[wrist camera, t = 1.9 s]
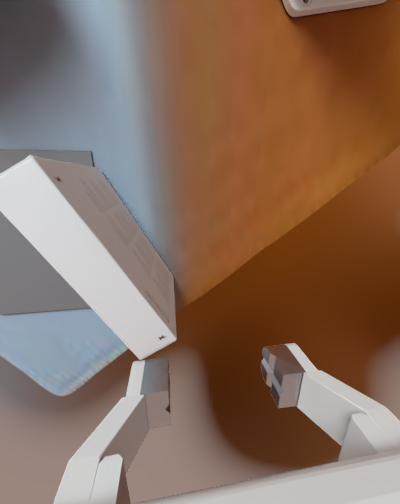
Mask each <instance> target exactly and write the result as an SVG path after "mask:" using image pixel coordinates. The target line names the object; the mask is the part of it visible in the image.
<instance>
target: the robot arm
mask: <svg viewBox="0 0 400 504" xmlns="http://www.w3.org/2000/svg"><path fill="white" fill-rule="evenodd" d="M282 1H283V4H284V6H285V9H286V11H287V13H288V14H289V15H290V16H292V17H299V16H305V15H312V14H318V13H325V12H331V11H338V10H344V9H350V8H357V7H363V6H370V5H376V4H381V3H384V2H386V1H387V0H305V2H306V3H304V2H303V0H282ZM262 354H263V356H264V359H263V360H262V361H261V371H262V375H263V378H264V380H265V383H266V384H267V385H268V386H270V387H271V395H272V397H273V398H274V401H275V403H276V405H277V407H278V408H283V407H291V406H297V407H298V408H299V409H300V410H301V411H302V412H303V413H305V414H306V415H307V416H308V417H309V418H310V419H311V420H313V421H314V422H315V423H316V424H317V425H318V426H319V427H320V428H321V429H323V430H324V431H325V432H326V433H327V434H328V435H330V436H331V437H332V438H333V439H334V440H335V441H336V442H337V443H339V444H340V445H341V446H342V448H341V451H340V455H339V458H338V462H334V463H329V464H324V465H319V466H314V467H309V468H304V469H299V470H294V471H289V472H284V473H279V474H275V475H270V476H265V477H260V478H255V479H250V480H245V481H240V482H235V483H231V484H226V485H221V486H216V487H212V488H206V489H201V490H197V491H192V492H187V493H182V494H177V495H172V496H167V497H163V498H158V499H153V500H148V501H143V502H138V503H133V504H400V421H399V420H398V419H397V418H396V417H395V416H394V415H393V414H392V413H391V412H390V411H389V410H388V409H387V408H386V407H385V406H383V405H381V404H379V403H378V402H376V401H374V400H372V399H371V398H369V397H367V396H365V395H364V394H362V393H360V392H358V391H356V390H355V389H353V388H351V387H349V386H347V385H346V384H344V383H342V382H340V381H338V380H337V379H335V378H333V377H332V376H330V375H328V374H326V373H324V372H323V371H318V370H317V369H316V368H315V367H314V365H313V364H312V363H311V362H310V360H309V359H308V358H307V357H306V356H305V354H304V353H303V352H302V351H301V349H300V348H299V347H298V346H297V345H296V344H295V343H292V344H284V345H276V346H268V347H264V348H263V352H262ZM169 425H170V374H169V359H168V358H164V359H152V360H144V361H134V362H133V364H132V369H131V373H130V379H129V384H128V388H127V393H126V397H123V398H121V400H120V401H119V402H118V403H117V404H116V405H115V406H114V408H113V409H112V410H111V411H110V413H109V414H108V415H107V416H106V417H105V418H104V420H103V421H102V422H101V423H100V424H99V426H98V427H97V428H96V429H95V430H94V432H93V433H92V434H91V435H90V436H89V438H88V439H87V440H86V441H85V442H84V444H83V445H82V446H81V447H80V448H79V449H78V451H77V452H76V453H75V454H74V455H73V457H72V458H71V459H70V460H69V462H68V465H67V467H66V470H65V473H64V476H63V478H62V481H61V484H60V486H59V489H58V492H57V495H56V497H55V500H54V503H53V504H131V503H130V497H129V491H128V486H127V480H126V472H127V471H128V469H129V467H130V465H131V463H132V461H133V460H134V458H135V456H136V454H137V452H138V450H139V448H140V446H141V445H142V443H143V441H144V439H145V437H146V435H147V433H148V431H149V429H153V428H158V427H164V426H169Z"/></svg>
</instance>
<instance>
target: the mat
mask: <svg viewBox="0 0 400 504" xmlns="http://www.w3.org/2000/svg"><path fill="white" fill-rule="evenodd" d="M29 155H33V156H37V157H40V158H44V159H50V160H56V161H61V162H70V163H76V164H81V165H85V166H91V167H94V166H93V159H92V152H91V151H45V150H0V174H1V173H2V172H4V171H6V170H7V169H9V168H11V167H12V166H14V165H16V164H17V163H19V162H21V161H22V160H24V159H25V158H27V157H28V156H29ZM80 308H91V307H90V306H89V305H88V304H87V303H86V302H85V301H84V300H83V299H82V297H81V296H80V295H79V294H78V293H77V292H76V291H75V290H74V289H73V288H72V287H71V286H70V285H69V284H68V282H67V281H66V280H65V279H64V278H63V277H62V276H61V275H60V274H59V273H58V272H57V271H56V270H55V269H54V268H53V267H52V265H51V264H50V263H49V262H48V261H47V260H46V259H45V258H44V257H43V256H42V255H41V254H40V253H39V252H38V251H37V249H36V248H35V247H34V246H33V245H32V244H31V243H30V242H29V241H28V240H27V239H26V238H25V237H24V236H23V235H22V234H21V233H20V231H19V230H18V229H17V228H16V227H15V226H14V225H13V224H12V223H11V222H10V221H9V220H8V219H7V218H6V217H5V216H4V215H3V213H2V212H1V211H0V315H3V314H16V313H29V312H42V311H54V310H67V309H80Z"/></svg>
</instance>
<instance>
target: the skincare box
mask: <svg viewBox="0 0 400 504" xmlns="http://www.w3.org/2000/svg"><path fill="white" fill-rule="evenodd" d="M0 211H1V212H2V213H3V215H4V216H5V217H6V218H7V219H8V220H9V221H10V222H11V223H12V224H13V225H14V226H15V227H16V228H17V229H18V230H19V231H20V233H21V234H22V235H23V236H24V237H25V238H26V239H27V240H28V241H29V242H30V243H31V244H32V245H33V246H34V247H35V248H36V249H37V251H38V252H39V253H40V254H41V255H42V256H43V257H44V258H45V259H46V260H47V261H48V262H49V263H50V264H51V265H52V267H53V268H54V269H55V270H56V271H57V272H58V273H59V274H60V275H61V276H62V277H63V278H64V279H65V280H66V281H67V282H68V284H69V285H70V286H71V287H72V288H73V289H74V290H75V291H76V292H77V293H78V294H79V295H80V296H81V297H82V299H83V300H84V301H85V302H86V303H87V304H88V305H89V306H90V307H91V308H92V309H93V310H94V311H95V312H96V313H97V315H98V316H99V317H100V318H101V319H102V320H103V321H104V322H105V323H106V324H107V325H108V326H109V327H110V328H111V330H112V331H113V332H114V333H115V334H116V335H117V336H118V337H119V338H120V339H121V340H122V341H123V342H124V343H125V344H126V345H127V347H128V348H129V349H130V350H131V351H132V352H133V353H134V354H135V355H136V356H137V357H138V358H139V360H142V359H144V358H145V357H147V356H149V355H150V354H152V353H154V352H156V351H158V350H160V349H161V348H163V347H165V346H167V345H168V344H170V343H172V342H174V341H176V340H177V335H176V317H175V293H174V276H173V275H172V273H171V272H170V271H169V269H168V268H167V266H166V265H165V263H164V262H163V260H162V259H161V257H160V256H159V254H158V253H157V252H156V250H155V249H154V247H153V246H152V244H151V243H150V241H149V240H148V238H147V237H146V236H145V234H144V233H143V231H142V230H141V228H140V227H139V225H138V224H137V222H136V221H135V220H134V218H133V217H132V215H131V214H130V212H129V211H128V209H127V208H126V207H125V205H124V204H123V202H122V201H121V199H120V198H119V196H118V195H117V194H116V192H115V191H114V189H113V188H112V186H111V185H110V183H109V182H108V180H107V179H106V178H105V176H104V175H103V173H102V172H101V170H100V169H99V168H98V167H91V166H85V165H81V164H76V163H70V162H61V161H56V160H50V159H44V158H40V157H37V156H33V155H29V156H28V157H27V158H25V159H24V160H22V161H21V162H19V163H17V164H16V165H14V166H12V167H11V168H9V169H7V170H6V171H4V172H2V173H1V174H0Z"/></svg>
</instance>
